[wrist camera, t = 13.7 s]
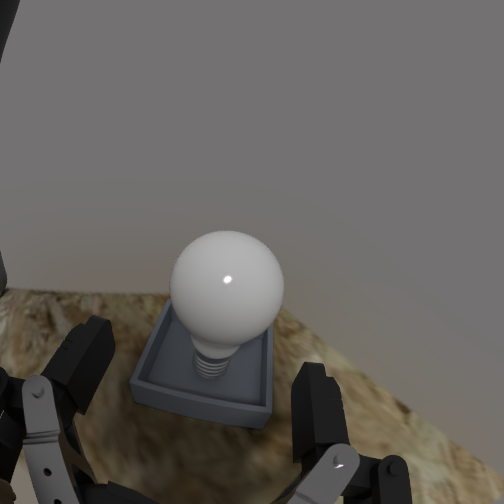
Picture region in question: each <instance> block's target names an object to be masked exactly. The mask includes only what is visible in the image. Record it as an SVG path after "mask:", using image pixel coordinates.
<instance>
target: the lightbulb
mask: <svg viewBox="0 0 504 504" xmlns="http://www.w3.org/2000/svg"><path fill="white" fill-rule="evenodd" d="M169 291H170V299H171V303H172V306H173V309H174V311H175V313H176V315H177V317H178V319H179V320H180V322H181V323H182V324H183V326H184V327H185V328H186V329H187V330H188V331H189V332H190V334H191V340H192V343H193V345H194V351H193V359H192V366H193V369H194V370H195V372H196V373H197V374H199V375H200V376H202V377H204V378H207V379H218V378H221V377H222V376H224V375H225V374H226V373H227V371H228V368H229V365H230V361H231V358H232V355H233V354H234V353H235V352H236V351H237V350H238V349H239V347H240V346H241V344H243V343H246V342H248V341H250V340H252V339H254V338H256V337H258V336H259V335H261V334H262V333H263V332H264V331H266V330H267V329H268V328H269V327H270V325H271V324H272V323H273V322H274V320H275V319H276V317H277V315H278V313H279V311H280V309H281V306H282V302H283V297H284V278H283V273H282V270H281V267H280V265H279V263H278V261H277V259H276V257H275V256H274V255H273V253H272V252H271V251H270V249H268V247H267V246H265V244H263V243H262V242H261V241H259V240H258V239H256V238H254V237H253V236H250V235H248V234H245V233H242V232H238V231H231V230H230V231H229V230H222V231H215V232H211V233H208V234H205V235H202V236H200V237H199V238H197V239H195V240H194V241H192V242H191V243H190V244H189V245H188V246H187V247H186V248H185V249H184V250H183V251H182V252H181V253H180V255H179V256H178V258H177V260H176V262H175V264H174V266H173V269H172V272H171V276H170V283H169Z"/></svg>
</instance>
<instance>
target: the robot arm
mask: <svg viewBox="0 0 504 504" xmlns="http://www.w3.org/2000/svg"><path fill="white" fill-rule="evenodd" d="M19 2H20V0H0V62H1V58H2V54H3V50H4V47H5V44H6V41H7V38H8V35H9V32H10V29H11V27H12V24H13V21H14V18H15V15H16V12H17V9H18V5H19ZM6 284H7V275H6V271H5V268H4V264H3V260H2V256H1V252H0V295H1V294H2V292H3V291H4V289H5V287H6ZM114 352H115V341H114V336H113V332H112V327H111V322H110V320H108V319H105V318H102V317H99V316H96V315H92V316H91V317H90V318H89V320H88V321H87V323H86V324H85V325H84V324H82V323H80V324H79V325H77V326H76V327H74V328H73V329H71V331H70V332H69V334H68V335H67V336H66V338H65V340H64V341H63V342H62V344H61V345H60V347H59V348H58V349H57V351H56V352H55V354H54V355H53V357H52V358H51V360H50V361H49V363H48V364H47V366H46V368H45V369H44V371H43V372H42V373H41V374H40V375H34V376H31V377H29V378H28V379H27V380H24V379H19V378H14V377H10V376H8V374H7V373H6V371H5V370H4V369H3V368H2V367H0V416H1V414H2V412H3V410H4V412H3V414H2V416H1V418H0V504H14V501H15V500H16V495H15V493H14V492H13V489H12V487H11V485H10V483H11V479H12V476H13V472H14V469H15V466H16V463H17V460H18V458H19V455H20V452H21V449H22V446H23V448H24V453H25V458H26V462H27V466H28V470H29V474H30V478H31V481H32V484H33V488H34V491H35V494H36V497H37V500H38V503H39V504H160V503H158V502H156V501H154V500H152V499H150V498H148V497H146V496H144V495H143V494H141V493H139V492H137V491H135V490H132V489H129V488H127V487H124V486H121V485H118V484H116V483H113V482H111V481H108V484H100V483H98V482H97V479H96V477H95V474H94V472H93V470H92V468H91V466H90V464H89V463H88V461H87V459H86V457H85V455H84V452H83V449H82V446H81V442H80V439H79V436H78V432H77V429H76V425H75V421H74V418H73V417H74V415H75V413H76V412H78V413H80V414H82V415H85V413H86V411H87V409H88V406H89V404H90V402H91V400H92V398H93V396H94V394H95V392H96V390H97V388H98V386H99V384H100V382H101V380H102V378H103V376H104V374H105V372H106V370H107V368H108V366H109V364H110V362H111V360H112V358H113V356H114ZM341 398H342V397H341V392H340V387H339V385H338V384H337V382H336V381H335V379H334V378H333V377H326V372H325V367H324V364H322V363H313V362H304V363H303V365H302V367H301V369H300V371H299V373H298V375H297V376H296V378H295V380H294V382H293V385H292V389H291V412H292V442H293V463H301V464H302V470H301V471H300V472H299V473H298V474H297V476H296V477H295V478H294V479H293V480H292V481H291V482H290V484H289V485H288V486H287V487H286V488H285V489H284V490H283V491H282V492H281V493H280V494H279V495H278V496H277V497H276V498H275V499H274V500H273V501H272V502H271V503H270V504H334V503H335V502H336V500H337V499H338V497H339V496H343V504H412V495H411V487H410V479H409V472H408V467H407V464H406V462H405V460H404V459H403V458H401V457H400V456H397V455H389V456H387V457H385V458H383V459H382V460H381V459H376V458H371V457H367V456H363V455H360V454H358V453H357V451H356V450H355V449H354V448H353V447H351V445H350V443H349V439H348V432H347V426H346V420H345V414H344V409H343V403H342V400H341ZM26 436H27V437H26Z"/></svg>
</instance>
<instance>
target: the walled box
mask: <svg viewBox="0 0 504 504" xmlns="http://www.w3.org/2000/svg"><path fill="white" fill-rule="evenodd" d="M193 351H194V345H193V343H192V340H191V334H190V332H189V331H188V330H187V329H186V328H185V327H184V326H183V324H182V323H181V322H180V320H179V319H178V317H177V315H176V313H175V311H174V309H173V306H172V303H171V299H168V300H167V302H166V304H165V306H164V308H163V310H162V312H161V314H160V316H159V318H158V320H157V322H156V324H155V327H154V329H153V331H152V333H151V335H150V337H149V339H148V341H147V344H146V346H145V348H144V350H143V352H142V355H141V357H140V359H139V361H138V363H137V366H136V368H135V370H134V373H133V375H132V377H131V379H130V382H129V384H130V387H131V391H132V394H133V398H134V401H135V402H136V403H139V404H142V405H145V406H149V407H152V408H155V409H159V410H163V411H166V412H170V413H174V414H178V415H182V416H186V417H191V418H195V419H200V420H205V421H210V422H215V423H221V424H227V425H233V426H240V427H247V428H256V429H263V428H264V426H265V424H266V423H267V421H268V419H269V418H270V416H271V414H272V395H273V323H272V324H271V325H270V327H269V328H268V329H267V330H266V331H264V332H263V333H262V334H261V335H259V336H258V337H256V338H254V339H252V340H250V341H248V342H246V343H243V344H241V346H240V347H239V349H238V350H237V351H236V352H235V353H234V354H233V355H232V358H231V361H230V365H229V368H228V371H227V373H226V374H225V375H224V376H222V377H221V378H218V379H207V378H204V377H202V376H200V375H199V374H197V373H196V372H195V370H194V369H193V366H192V359H193Z"/></svg>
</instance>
